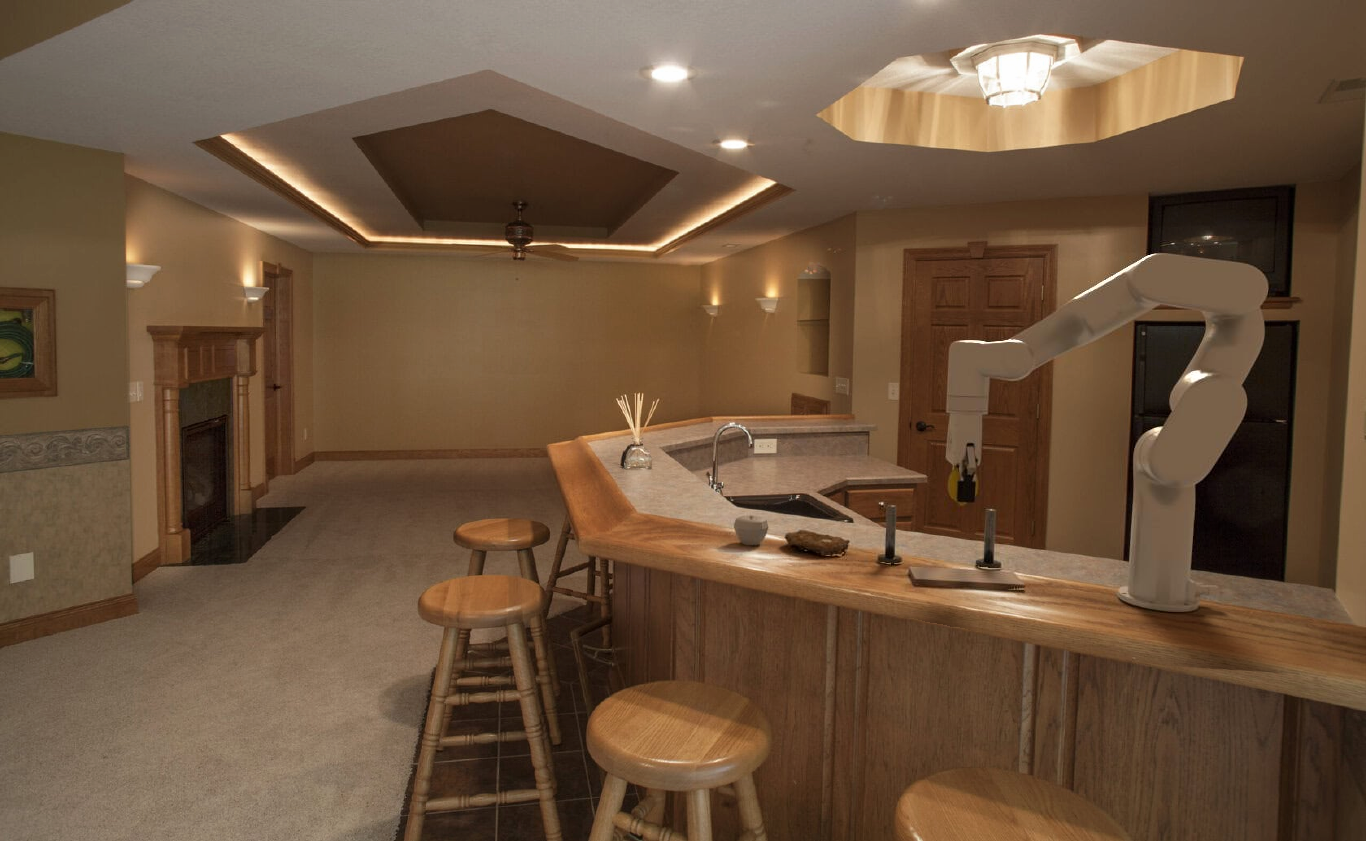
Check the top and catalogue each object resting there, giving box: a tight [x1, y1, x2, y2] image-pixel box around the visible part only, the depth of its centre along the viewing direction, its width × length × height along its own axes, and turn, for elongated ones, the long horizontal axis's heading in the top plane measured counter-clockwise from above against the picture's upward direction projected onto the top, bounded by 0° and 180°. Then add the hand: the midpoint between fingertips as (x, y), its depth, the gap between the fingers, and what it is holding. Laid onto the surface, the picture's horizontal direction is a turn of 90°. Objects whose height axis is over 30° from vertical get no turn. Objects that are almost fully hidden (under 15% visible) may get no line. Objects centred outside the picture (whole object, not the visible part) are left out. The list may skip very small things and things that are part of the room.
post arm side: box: [975, 508, 1002, 569], centre depth 167 cm, size 5×5×12 cm
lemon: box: [947, 467, 979, 507], centre depth 155 cm, size 6×6×8 cm
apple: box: [733, 514, 769, 546], centre depth 185 cm, size 8×8×7 cm
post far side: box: [877, 504, 903, 564], centre depth 170 cm, size 5×5×12 cm
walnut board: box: [908, 565, 1026, 590], centre depth 157 cm, size 20×9×1 cm, turn 82°
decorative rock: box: [784, 529, 851, 557], centre depth 180 cm, size 11×4×15 cm
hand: (962, 498), depth 156 cm, fingers closed on lemon, 5 cm apart
